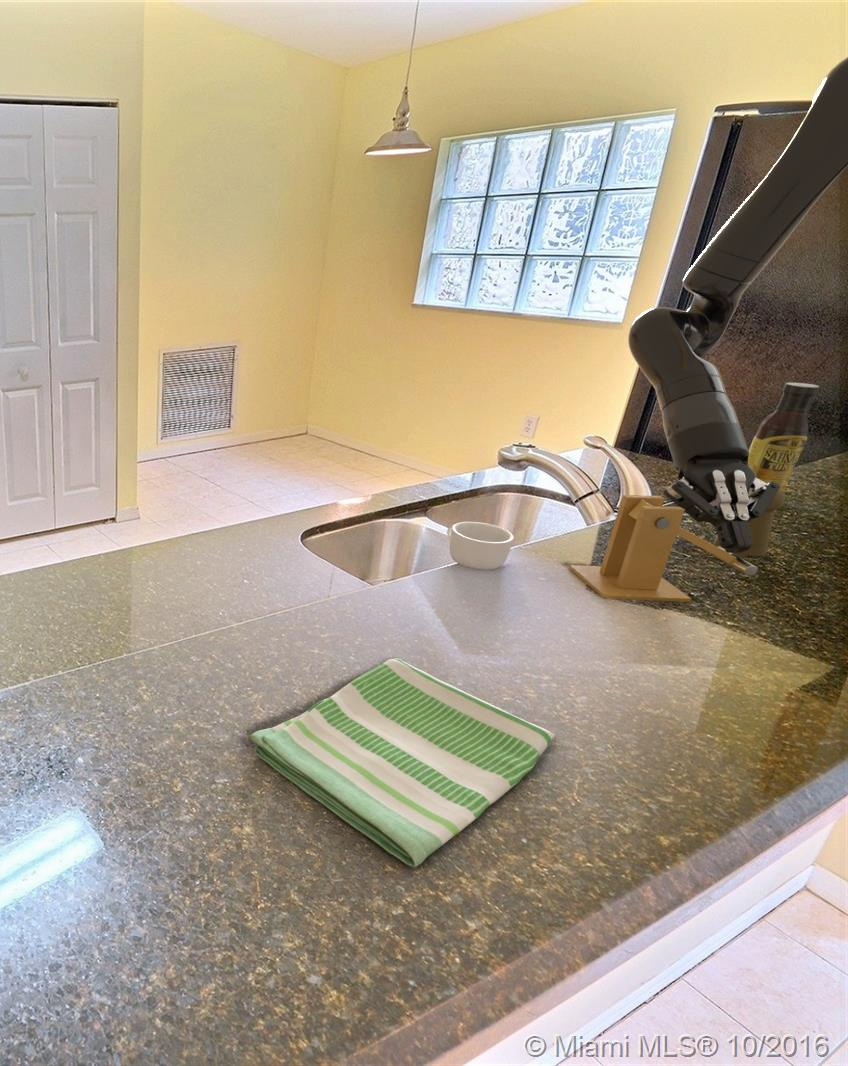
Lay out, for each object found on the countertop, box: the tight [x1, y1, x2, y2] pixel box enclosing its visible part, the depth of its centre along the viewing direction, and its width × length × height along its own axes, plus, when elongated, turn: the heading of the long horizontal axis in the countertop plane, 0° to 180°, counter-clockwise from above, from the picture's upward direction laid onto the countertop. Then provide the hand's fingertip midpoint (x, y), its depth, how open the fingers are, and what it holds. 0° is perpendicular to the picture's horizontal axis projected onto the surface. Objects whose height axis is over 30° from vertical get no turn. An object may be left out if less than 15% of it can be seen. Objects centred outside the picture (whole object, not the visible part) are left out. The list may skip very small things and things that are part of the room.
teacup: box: [446, 521, 515, 571], centre depth 103 cm, size 10×8×5 cm
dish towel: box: [249, 657, 555, 868], centre depth 67 cm, size 18×23×3 cm
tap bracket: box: [568, 494, 692, 603], centre depth 93 cm, size 10×9×13 cm
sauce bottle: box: [748, 382, 820, 492], centre depth 120 cm, size 7×6×20 cm
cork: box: [712, 488, 786, 560], centre depth 101 cm, size 6×6×11 cm
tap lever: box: [628, 500, 759, 577], centre depth 91 cm, size 15×6×2 cm, turn 82°
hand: (739, 550), depth 91 cm, fingers closed
